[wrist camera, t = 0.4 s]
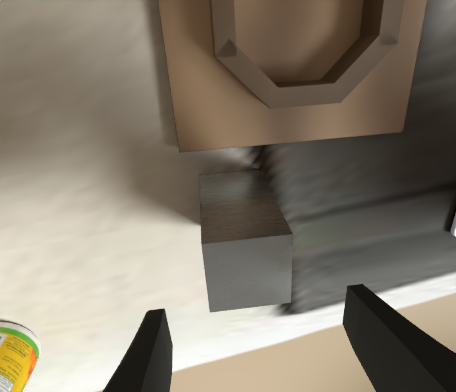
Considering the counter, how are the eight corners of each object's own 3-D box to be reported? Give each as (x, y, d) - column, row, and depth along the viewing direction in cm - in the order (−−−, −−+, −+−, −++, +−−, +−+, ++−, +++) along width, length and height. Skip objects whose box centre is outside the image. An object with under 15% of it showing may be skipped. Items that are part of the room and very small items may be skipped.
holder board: (445, -175, 14) (503, -227, 12) (393, 128, 20) (423, 140, 18) (137, -165, 13) (122, -219, 11) (180, 147, 19) (177, 163, 17)
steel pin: (258, 169, 21) (292, 234, 14) (260, 220, 22) (290, 302, 15) (199, 175, 20) (201, 244, 13) (205, 226, 22) (210, 312, 15)
